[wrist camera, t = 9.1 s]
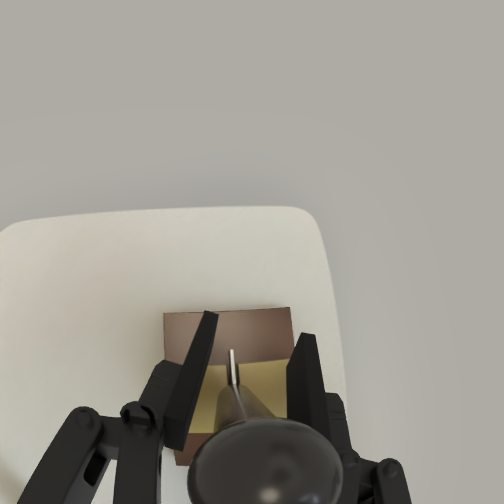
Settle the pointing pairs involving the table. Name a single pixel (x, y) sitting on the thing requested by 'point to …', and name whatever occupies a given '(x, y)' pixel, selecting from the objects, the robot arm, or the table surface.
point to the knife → (262, 456)
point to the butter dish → (245, 357)
